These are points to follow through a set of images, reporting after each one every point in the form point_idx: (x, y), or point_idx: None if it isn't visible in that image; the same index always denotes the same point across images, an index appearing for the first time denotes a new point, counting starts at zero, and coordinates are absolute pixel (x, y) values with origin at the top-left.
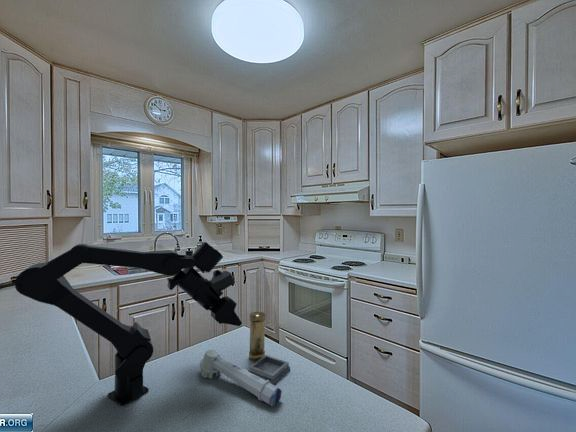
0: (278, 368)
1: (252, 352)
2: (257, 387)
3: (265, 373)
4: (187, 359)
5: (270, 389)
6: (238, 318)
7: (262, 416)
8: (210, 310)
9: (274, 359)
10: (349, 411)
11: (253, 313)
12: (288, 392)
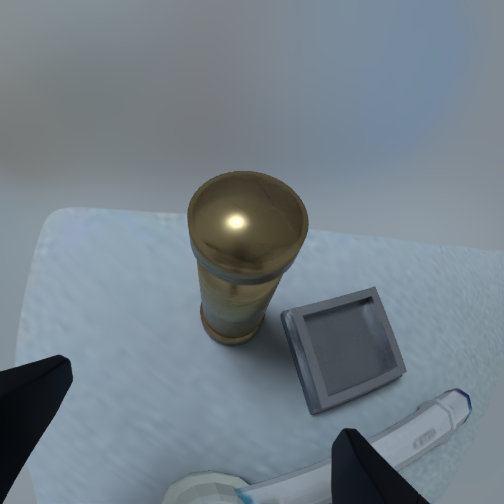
0: (360, 321)
1: (240, 335)
2: (438, 442)
3: (383, 382)
4: (70, 482)
5: (463, 417)
6: (393, 473)
7: (450, 449)
8: (3, 499)
9: (335, 307)
10: (495, 303)
11: (211, 221)
12: (431, 360)
